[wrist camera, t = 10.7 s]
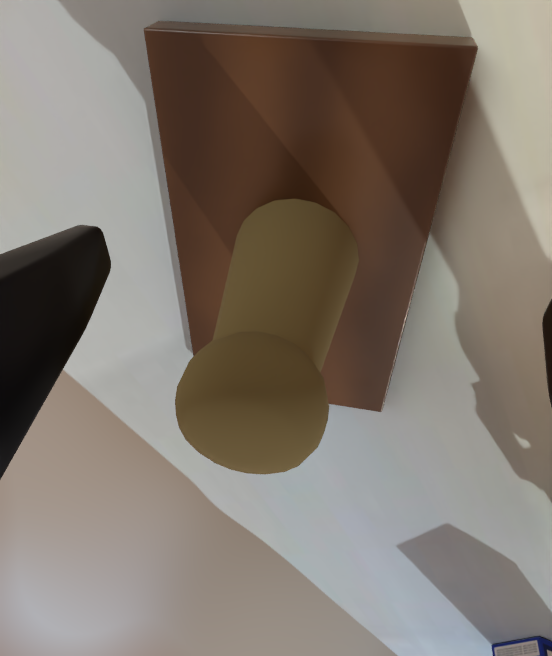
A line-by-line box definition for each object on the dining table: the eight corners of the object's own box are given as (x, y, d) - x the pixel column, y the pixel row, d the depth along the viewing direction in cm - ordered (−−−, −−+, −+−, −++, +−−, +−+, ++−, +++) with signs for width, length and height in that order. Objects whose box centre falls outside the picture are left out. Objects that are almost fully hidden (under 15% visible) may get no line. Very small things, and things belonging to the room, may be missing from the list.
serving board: (474, 37, 17) (479, 46, 16) (382, 394, 30) (381, 412, 29) (157, 20, 19) (142, 27, 17) (204, 366, 32) (197, 383, 31)
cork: (383, 274, 23) (373, 479, 15) (285, 320, 26) (233, 510, 18) (309, 172, 20) (248, 356, 12) (210, 238, 23) (110, 418, 15)
